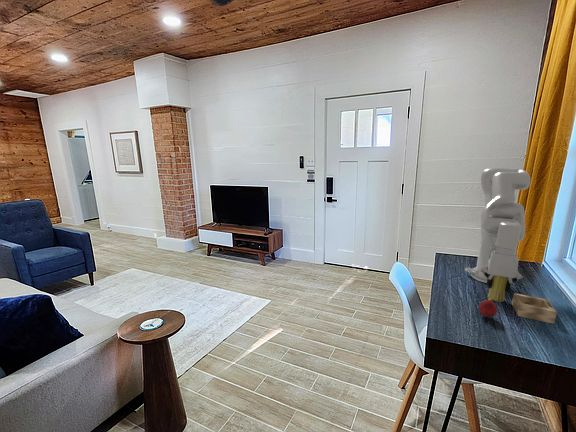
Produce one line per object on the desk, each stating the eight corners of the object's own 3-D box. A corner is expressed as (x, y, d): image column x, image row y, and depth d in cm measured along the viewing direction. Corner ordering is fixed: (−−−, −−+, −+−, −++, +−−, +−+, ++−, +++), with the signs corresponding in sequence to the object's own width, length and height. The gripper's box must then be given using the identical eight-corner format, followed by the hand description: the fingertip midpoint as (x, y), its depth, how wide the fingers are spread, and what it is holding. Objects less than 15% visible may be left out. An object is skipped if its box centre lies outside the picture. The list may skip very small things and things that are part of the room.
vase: (502, 296, 126) (508, 267, 123) (505, 303, 121) (512, 273, 117) (486, 294, 128) (491, 265, 125) (489, 300, 123) (494, 270, 120)
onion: (496, 323, 106) (499, 304, 104) (478, 318, 109) (481, 299, 107) (494, 315, 111) (498, 297, 109) (477, 311, 114) (480, 293, 112)
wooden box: (518, 315, 111) (520, 303, 110) (511, 303, 121) (514, 292, 119) (554, 323, 106) (557, 311, 105) (544, 310, 116) (547, 298, 114)
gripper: (482, 249, 120) (475, 287, 124) (533, 256, 112) (524, 297, 116) (480, 244, 127) (473, 281, 131) (528, 251, 119) (519, 289, 123)
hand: (497, 288), depth 123 cm, fingers closed on vase, 5 cm apart
